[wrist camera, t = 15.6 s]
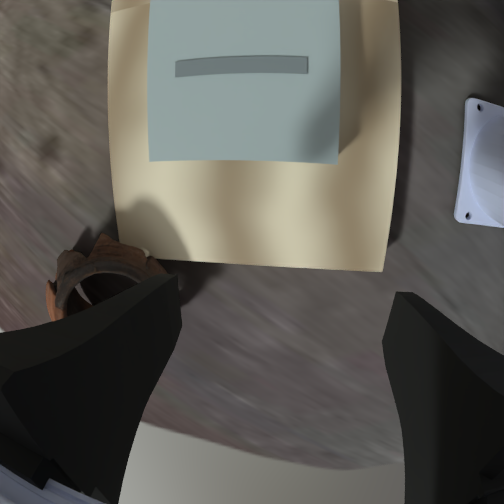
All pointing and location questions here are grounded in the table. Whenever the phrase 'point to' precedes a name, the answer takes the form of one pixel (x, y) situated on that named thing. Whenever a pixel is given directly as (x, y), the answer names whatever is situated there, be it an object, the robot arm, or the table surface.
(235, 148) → the lid
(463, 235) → the table surface
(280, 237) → the light wood flat board
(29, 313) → the table surface
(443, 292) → the table surface
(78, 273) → the brown broken pot
